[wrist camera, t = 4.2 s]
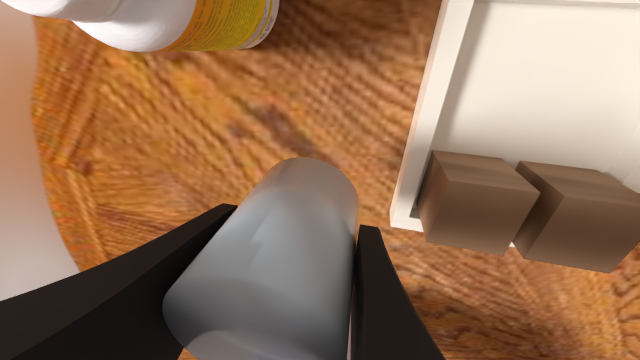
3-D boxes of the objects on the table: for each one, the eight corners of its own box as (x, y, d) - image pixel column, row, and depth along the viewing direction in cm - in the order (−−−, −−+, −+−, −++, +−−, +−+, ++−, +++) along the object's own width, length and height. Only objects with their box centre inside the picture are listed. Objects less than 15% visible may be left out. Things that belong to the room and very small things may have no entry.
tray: (566, 240, 17) (584, 259, 15) (389, 212, 19) (390, 226, 17) (755, -15, 10) (820, -26, 9) (447, -24, 12) (458, -34, 10)
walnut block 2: (558, 224, 16) (609, 273, 12) (492, 214, 16) (523, 258, 13) (596, 169, 14) (668, 210, 11) (519, 160, 15) (565, 196, 11)
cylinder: (351, 250, 12) (335, 407, 7) (261, 233, 12) (183, 366, 7) (367, 165, 10) (361, 303, 4) (256, 149, 10) (138, 256, 5)
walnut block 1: (476, 211, 17) (503, 255, 13) (415, 202, 17) (426, 242, 14) (501, 158, 15) (540, 192, 11) (431, 149, 15) (449, 180, 12)
